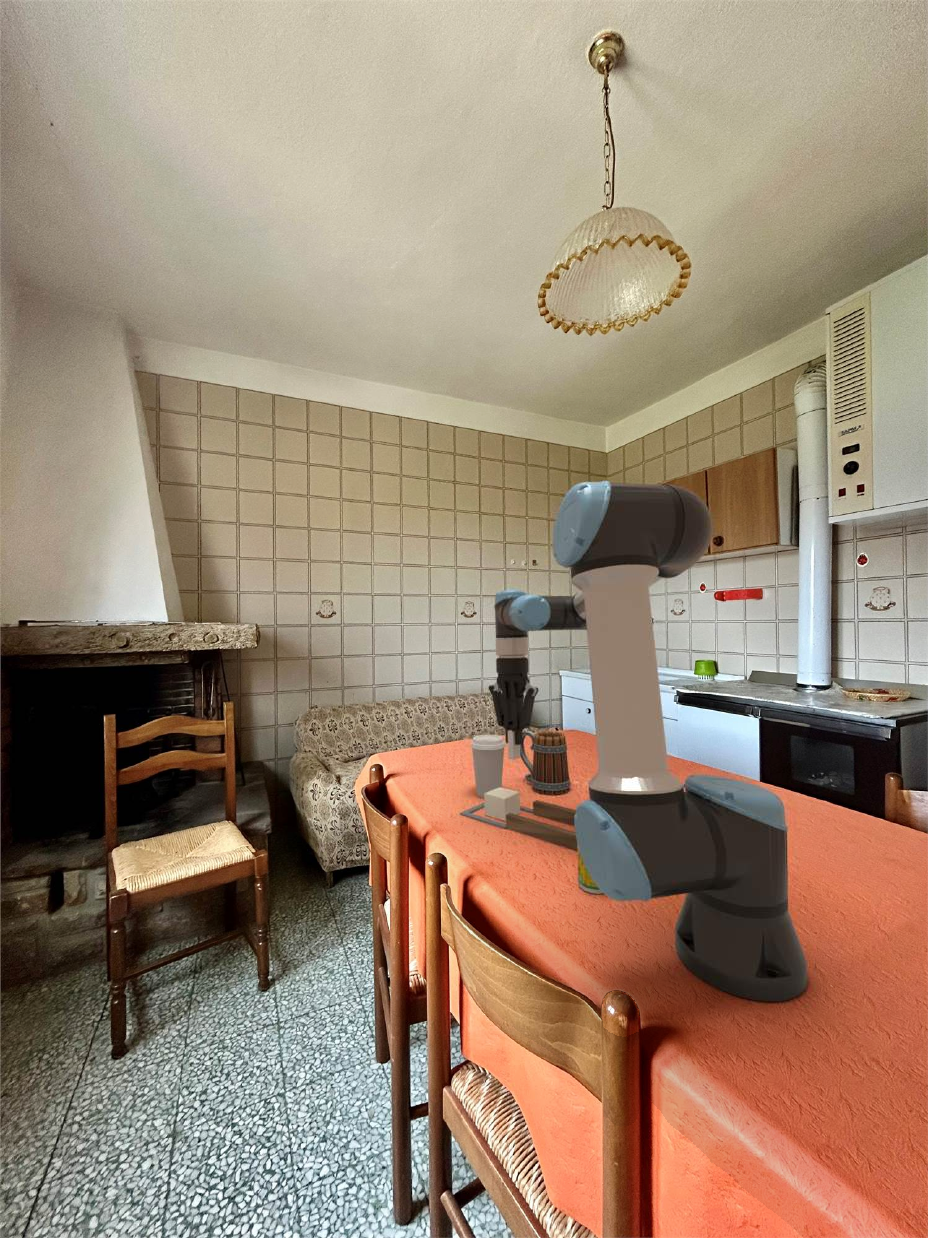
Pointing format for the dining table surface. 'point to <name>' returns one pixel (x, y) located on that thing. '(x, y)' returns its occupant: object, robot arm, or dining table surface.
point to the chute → (543, 829)
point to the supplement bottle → (586, 877)
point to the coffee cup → (487, 762)
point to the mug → (547, 762)
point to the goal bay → (468, 814)
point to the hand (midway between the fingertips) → (514, 758)
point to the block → (501, 803)
